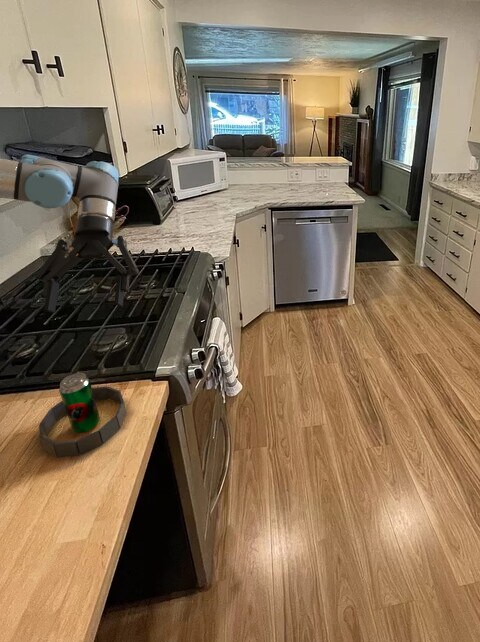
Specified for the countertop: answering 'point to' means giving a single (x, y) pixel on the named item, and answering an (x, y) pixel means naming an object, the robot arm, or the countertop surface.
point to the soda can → (79, 403)
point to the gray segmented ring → (87, 441)
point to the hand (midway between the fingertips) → (84, 308)
